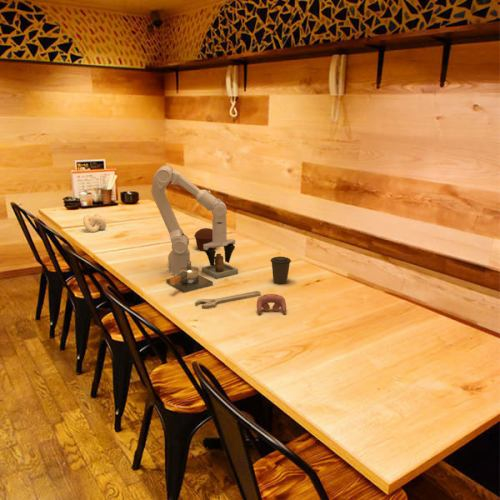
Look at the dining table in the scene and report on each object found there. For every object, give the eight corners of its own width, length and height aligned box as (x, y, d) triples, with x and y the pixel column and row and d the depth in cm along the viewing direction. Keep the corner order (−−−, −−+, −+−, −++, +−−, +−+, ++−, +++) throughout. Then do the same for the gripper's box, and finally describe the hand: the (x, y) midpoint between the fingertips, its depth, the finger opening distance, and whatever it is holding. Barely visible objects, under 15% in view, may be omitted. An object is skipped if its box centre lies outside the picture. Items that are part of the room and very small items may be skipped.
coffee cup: (289, 286, 181) (289, 261, 179) (268, 284, 183) (268, 260, 180) (291, 279, 189) (292, 255, 186) (271, 277, 190) (272, 254, 188)
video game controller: (285, 314, 160) (284, 294, 161) (287, 314, 155) (286, 293, 157) (256, 315, 159) (256, 294, 160) (257, 314, 155) (256, 293, 156)
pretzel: (82, 229, 264) (81, 213, 262) (104, 227, 269) (103, 211, 267) (84, 233, 254) (83, 217, 252) (107, 231, 259) (106, 215, 257)
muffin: (220, 246, 234) (220, 226, 231) (216, 252, 223) (216, 232, 221) (196, 245, 235) (196, 225, 232) (192, 251, 224) (191, 231, 222)
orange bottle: (213, 271, 195) (212, 254, 193) (220, 268, 198) (218, 252, 195) (219, 272, 193) (218, 256, 191) (225, 270, 195) (224, 253, 193)
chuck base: (166, 282, 183) (166, 279, 183) (194, 276, 191) (194, 272, 191) (183, 292, 174) (183, 289, 173) (212, 285, 181) (212, 281, 181)
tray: (201, 271, 196) (201, 267, 196) (223, 267, 203) (222, 262, 202) (216, 279, 188) (216, 274, 188) (238, 273, 195) (238, 269, 194)
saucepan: (185, 276, 186) (185, 258, 184) (201, 278, 184) (201, 260, 182) (164, 290, 171) (163, 270, 169) (181, 292, 169) (180, 273, 167)
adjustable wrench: (258, 294, 175) (258, 289, 174) (266, 300, 169) (266, 296, 168) (193, 304, 164) (193, 299, 164) (199, 311, 159) (199, 306, 158)
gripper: (210, 236, 183) (210, 269, 187) (239, 231, 192) (239, 262, 196) (200, 232, 188) (200, 265, 192) (229, 227, 197) (229, 258, 201)
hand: (219, 263), depth 194 cm, fingers open, 7 cm apart
